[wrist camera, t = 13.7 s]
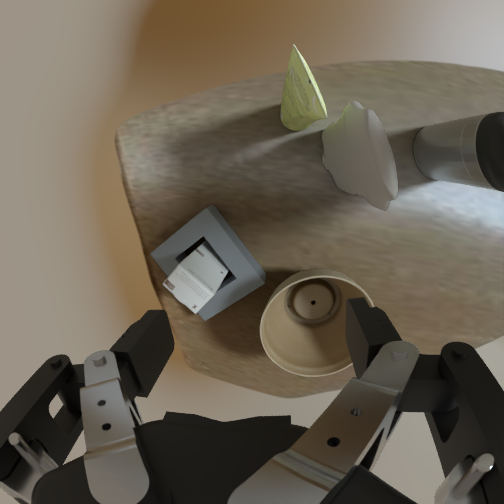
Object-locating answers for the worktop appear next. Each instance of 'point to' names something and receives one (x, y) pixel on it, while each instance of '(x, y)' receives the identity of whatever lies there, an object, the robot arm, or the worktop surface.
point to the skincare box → (197, 277)
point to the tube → (300, 95)
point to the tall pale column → (361, 156)
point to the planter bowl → (309, 322)
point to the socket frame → (228, 249)
